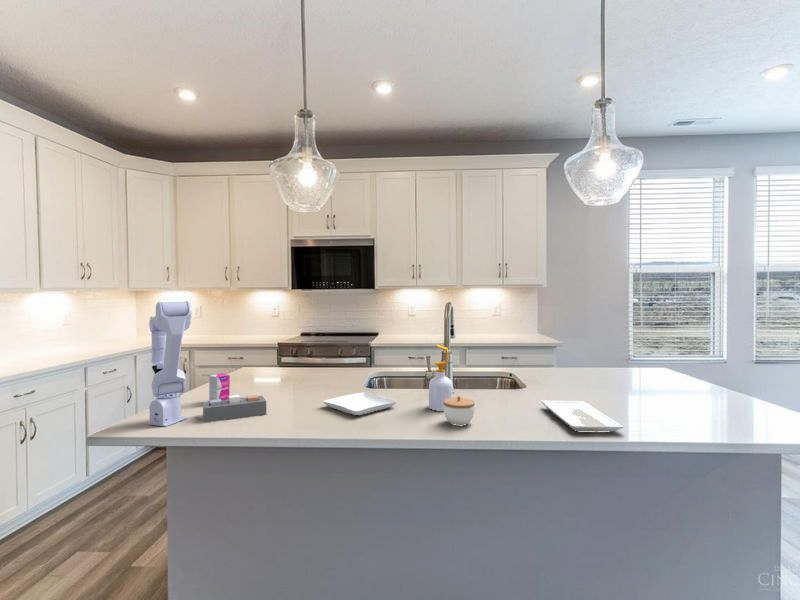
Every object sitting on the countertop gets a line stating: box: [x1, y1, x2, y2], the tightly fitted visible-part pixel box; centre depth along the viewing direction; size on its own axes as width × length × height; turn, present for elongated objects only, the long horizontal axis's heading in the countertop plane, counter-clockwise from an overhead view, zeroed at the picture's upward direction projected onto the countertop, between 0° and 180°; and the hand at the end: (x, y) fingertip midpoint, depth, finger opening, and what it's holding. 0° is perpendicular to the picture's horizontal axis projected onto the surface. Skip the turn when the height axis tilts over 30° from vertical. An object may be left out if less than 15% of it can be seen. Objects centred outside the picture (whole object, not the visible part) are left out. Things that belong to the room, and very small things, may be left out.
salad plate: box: [323, 391, 398, 416], centre depth 169 cm, size 21×21×3 cm
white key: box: [229, 394, 241, 404], centre depth 159 cm, size 4×4×4 cm
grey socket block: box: [202, 395, 267, 423], centre depth 159 cm, size 21×9×5 cm, turn 117°
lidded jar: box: [443, 395, 476, 425], centre depth 150 cm, size 11×11×9 cm
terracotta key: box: [246, 394, 259, 402], centre depth 162 cm, size 4×4×4 cm
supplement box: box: [208, 373, 231, 402], centre depth 176 cm, size 6×6×12 cm
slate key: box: [210, 399, 222, 406], centre depth 157 cm, size 4×4×4 cm
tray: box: [540, 400, 624, 432], centre depth 153 cm, size 17×32×4 cm, turn 0°
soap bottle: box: [428, 344, 453, 412], centre depth 168 cm, size 9×9×25 cm
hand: (161, 384), depth 164 cm, fingers closed
